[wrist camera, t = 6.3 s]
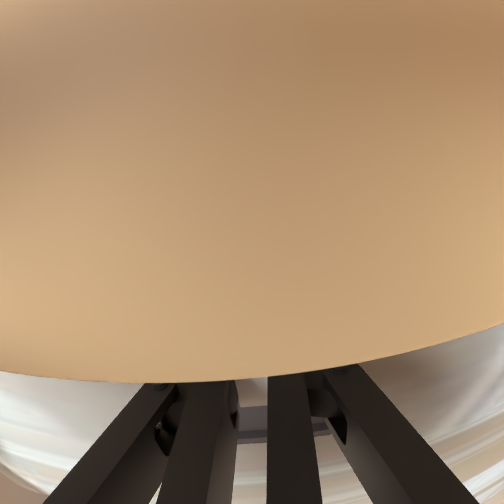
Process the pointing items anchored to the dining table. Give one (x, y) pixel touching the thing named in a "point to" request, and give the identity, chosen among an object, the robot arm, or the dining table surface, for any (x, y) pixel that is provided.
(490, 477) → the dining table surface
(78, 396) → the dining table surface
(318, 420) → the tray
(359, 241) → the brown wooden frame
